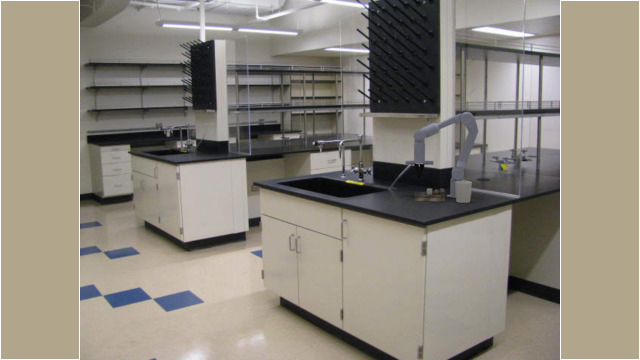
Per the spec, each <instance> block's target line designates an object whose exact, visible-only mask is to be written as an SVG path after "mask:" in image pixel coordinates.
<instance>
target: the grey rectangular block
mask: <svg viewBox="0 0 640 360" xmlns="http://www.w3.org/2000/svg"><path fill="white" fill-rule="evenodd" d="M426 192H427V195H432V192H433V188H426Z"/></svg>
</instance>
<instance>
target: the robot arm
mask: <svg viewBox="0 0 640 360" xmlns="http://www.w3.org/2000/svg"><path fill="white" fill-rule="evenodd" d="M461 123H462V125H463V126H465V127H466V130H467V132H468V133H467V135H466V138H465V141H464V143H463V146H462V148H461V151H460V154H459V157H458V159H457V162H456V164H455V166H453V168H452V170H451V178H450V192H449V193H450V194H447V195H446V197H449V198H454V199H456V188H455V182H456V181H469V179H468V180H467V179H466V178H465V169H466V165H467V163H468V160H469V158H470V155H471V152H472V150H473V147H474V144H475V141H476V139H477V136H478V133H479V128H478V124H477V121H476V118H475V116H474V115H473V113H471V112H470V111H464V112H463V113H459V114H455V115H453V116H451V117H448V118H447V119H444V120H442V121H441V122H438V123H435V122H433V123H432V122H430V123H429V124H428V125H426V126H424V127H420V129H417V130H416V131H415V132H414V134H413V139H414V142H413V143H414V144H413V160H405V163H404V164H405V166H409V165H410V166H414V169H415V171H416V174H417V179H419V180H420V179H421V177H422V174H423V170H424V168H425V166H428V165H429V166H434V160H426V143H425V141H426V138H430V137H432V136H435V135H436V134H439V133H440V130H441V129H444V128H446V127H448V126H450V125H453V124H461Z"/></svg>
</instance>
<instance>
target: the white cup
mask: <svg viewBox="0 0 640 360" xmlns="http://www.w3.org/2000/svg"><path fill="white" fill-rule="evenodd" d="M472 184H473V182H472V181H469V180H468V181H456V182H455V188H456V198H455V202H457V203H460V204H468V203H471V198H472V186H473V185H472Z"/></svg>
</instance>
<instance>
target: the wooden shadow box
mask: <svg viewBox="0 0 640 360" xmlns="http://www.w3.org/2000/svg"><path fill="white" fill-rule="evenodd" d="M414 202H446V190H445V188H441V187H440V188H439V189H435V190H433V191H432V195H427V191H414Z"/></svg>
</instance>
